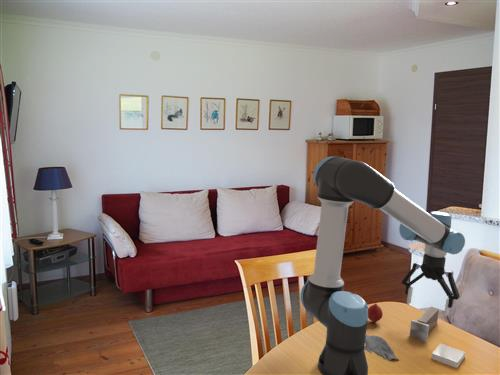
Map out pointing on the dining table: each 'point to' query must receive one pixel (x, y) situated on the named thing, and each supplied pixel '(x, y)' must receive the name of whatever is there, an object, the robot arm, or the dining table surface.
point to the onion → (374, 313)
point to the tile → (448, 355)
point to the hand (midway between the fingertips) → (426, 309)
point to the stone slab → (379, 347)
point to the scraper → (424, 324)
